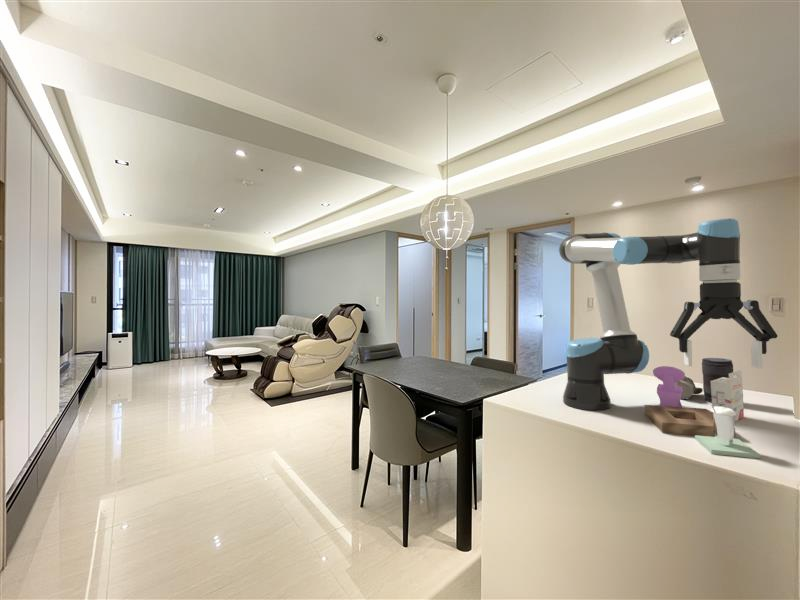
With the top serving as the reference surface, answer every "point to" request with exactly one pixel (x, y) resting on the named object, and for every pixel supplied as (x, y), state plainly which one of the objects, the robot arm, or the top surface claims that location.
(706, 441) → the mat
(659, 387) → the toy chair
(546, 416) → the top surface
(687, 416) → the pocket block
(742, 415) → the ink cartridge box
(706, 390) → the camera lens
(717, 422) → the milkshake
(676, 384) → the ceramic sculpture
